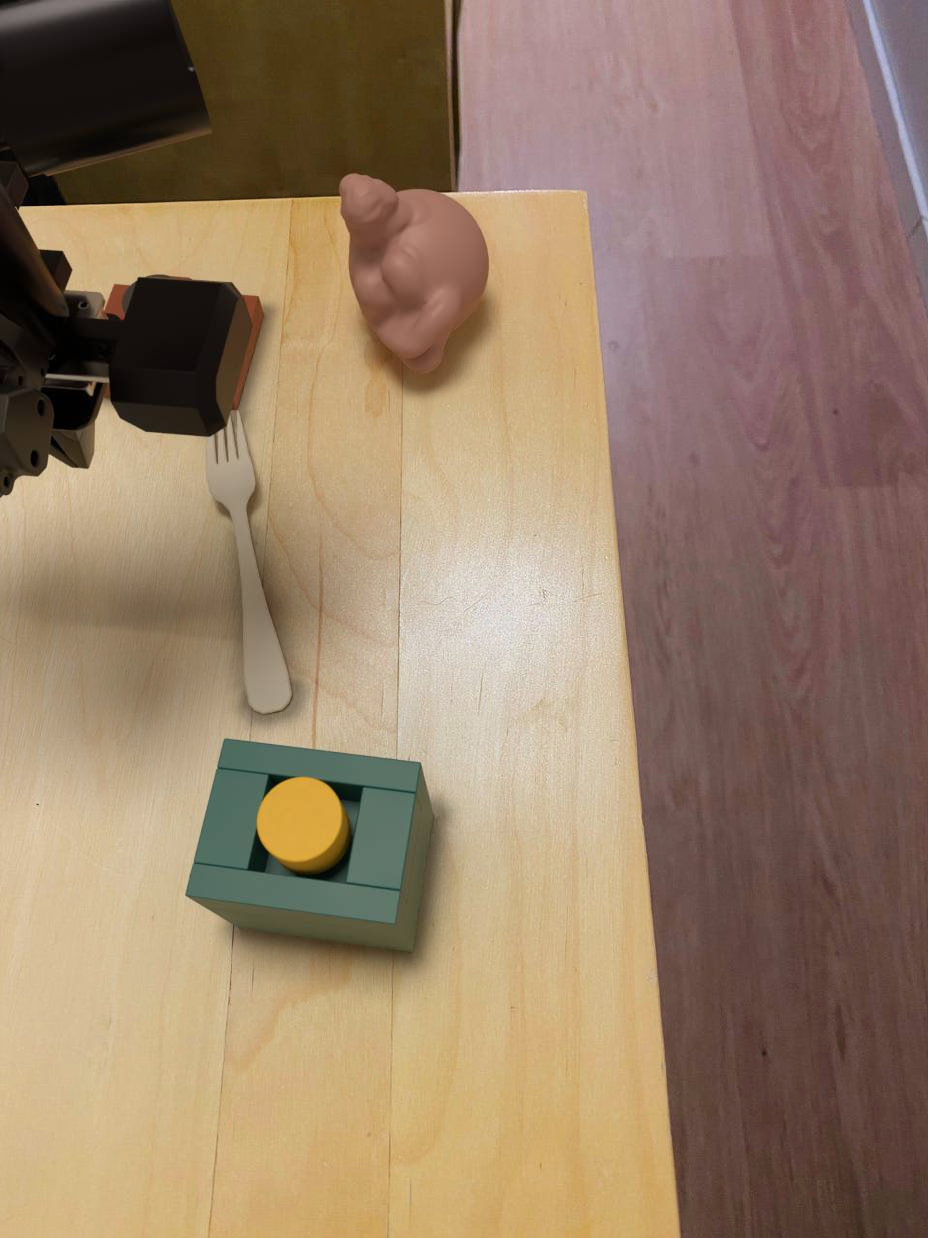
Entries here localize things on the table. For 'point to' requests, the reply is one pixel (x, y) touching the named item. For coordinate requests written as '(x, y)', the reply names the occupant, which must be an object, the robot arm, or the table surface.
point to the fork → (248, 574)
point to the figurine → (412, 265)
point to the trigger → (304, 825)
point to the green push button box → (341, 896)
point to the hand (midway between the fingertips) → (84, 460)
